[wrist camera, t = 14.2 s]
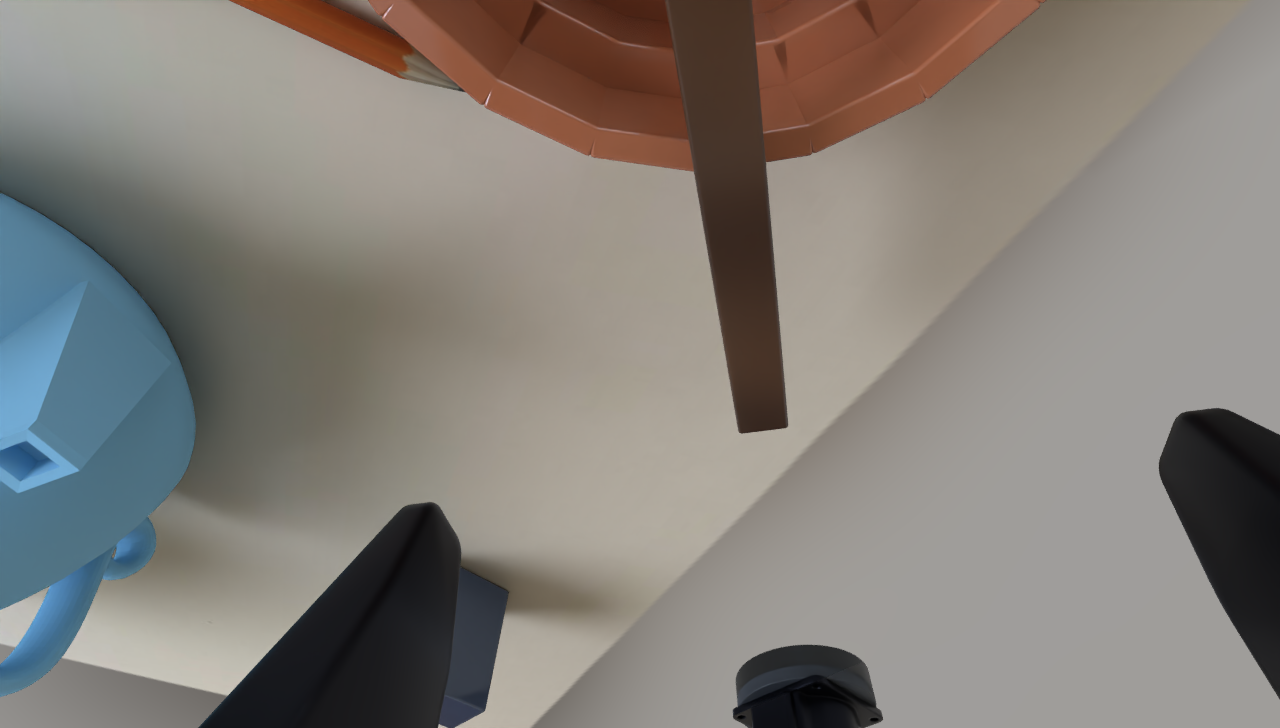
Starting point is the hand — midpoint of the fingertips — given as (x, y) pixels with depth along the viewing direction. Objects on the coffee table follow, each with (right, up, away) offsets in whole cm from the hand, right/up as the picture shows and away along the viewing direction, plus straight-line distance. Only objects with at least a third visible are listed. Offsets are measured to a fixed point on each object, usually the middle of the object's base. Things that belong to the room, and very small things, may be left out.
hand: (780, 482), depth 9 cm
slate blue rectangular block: (-10, -9, +23) cm, 26 cm away
